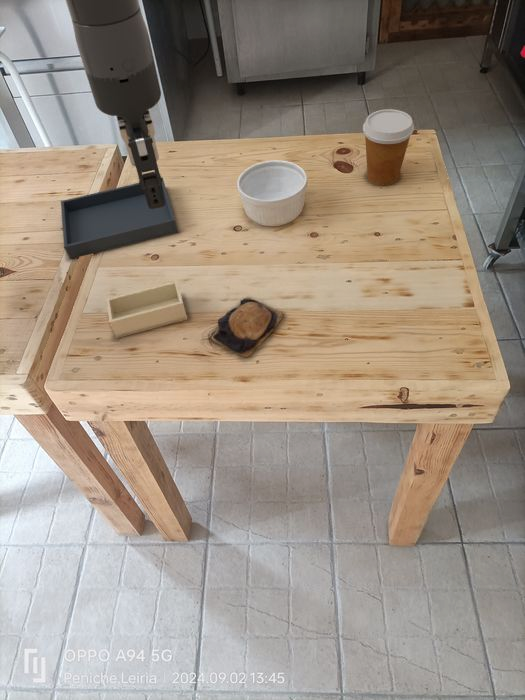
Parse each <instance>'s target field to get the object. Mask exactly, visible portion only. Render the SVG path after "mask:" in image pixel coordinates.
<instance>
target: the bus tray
mask: <svg viewBox="0 0 525 700" xmlns="http://www.w3.org/2000/svg"><path fill="white" fill-rule="evenodd" d="M161 177H162V181H161V182H162V185H161V187H162V191H163V195H164V199H165V206H163V207H159V208H155V209H150V208H149V207H148V204H147V200H146V197H145V193H144V190H143V189H142V187H141V186H140V185H139V182H136V183H133V184H128V185H124V186H120V187H115V188H111V189H106V190H102V191H98V192H94V193H89V194H85V195H80V196H77V197H73V198H68V199H64V200H60V209H61V223H62V224H61V225H62V237H63V248H64V251H65V252H66V254H67V256H68V258H69V260H72V259H76V258H80V257H81V258H82V257H84V256H88V255H92V254H97V253H100V252H104V251H107V250H108V251H109V250H113V249H116V248H121V247H124V246H128V245H133V244H137V243H140V242H146V241H149V240H152V239H153V240H154V239H157V238H162V237H165V236H169V235H173V234H177V233H179V229H178V226H177V225H178V224H177V221H176V219H175V214H174V211H173V208H172V204H171V202H170V198H169V195H168V194H169V193H168V191H167V187H166V183H165V181H164V178H163V176H161Z"/></svg>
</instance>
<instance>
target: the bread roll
mask: <svg viewBox="0 0 525 700" xmlns="http://www.w3.org/2000/svg"><path fill="white" fill-rule="evenodd" d="M282 318H283V313H282V312H281V311H279V310H277V309H275V308H273V307H271V306H269V305H266V304H264V303H263V302H260V301H258V300H256V299H253V298H251V297H246V298H244V299H241V300H240V302H239V305H237V306H236V307H234V308H232V309H231V310H229V311H227V312H226V313H225V315H224V316H222V317H220V318H219V319H218V320H217V325H218V328H217V329H216V330H215V331H214V332H213V334H212V336H210V339H211V342H213V343H214V344H216V345H219V346H220V347H221V348H223V349H227V350H229V351H230V352H231V353H234V354H236V355H239V356H241V357H242V358H244V359H247V358H249V357H250V356H251V355H252V354H253V353H254V352H255V351H256V350H257V349H258V347H261V346H262V344H263V342H264V341H265V340H266V339H267V338H268V337H270V335H271V333H272V332H273V330H275V329H276V327H277V326H278V324H279V323H280V321H281V320H282Z"/></svg>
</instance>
